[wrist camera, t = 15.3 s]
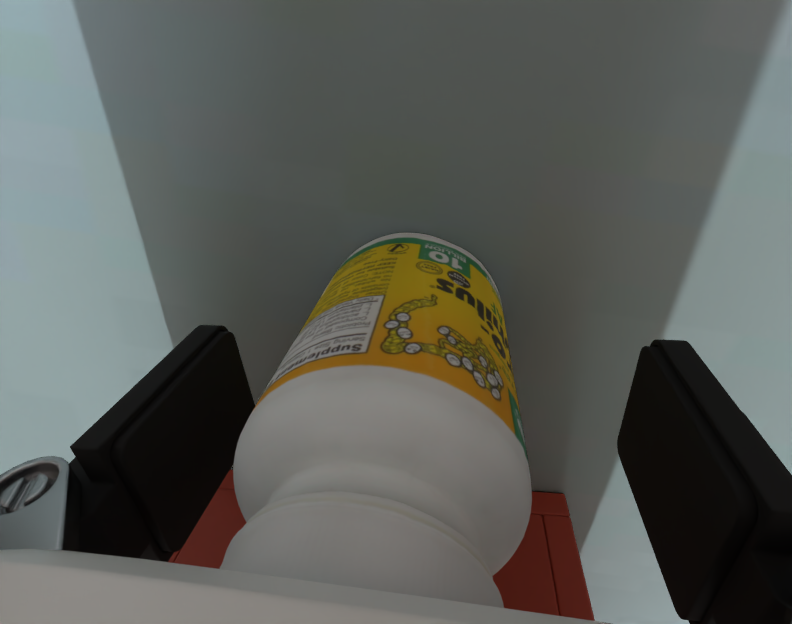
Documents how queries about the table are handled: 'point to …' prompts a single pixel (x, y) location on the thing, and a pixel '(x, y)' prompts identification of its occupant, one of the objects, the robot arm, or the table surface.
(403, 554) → the supplement bottle
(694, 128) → the table surface
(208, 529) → the red open box
